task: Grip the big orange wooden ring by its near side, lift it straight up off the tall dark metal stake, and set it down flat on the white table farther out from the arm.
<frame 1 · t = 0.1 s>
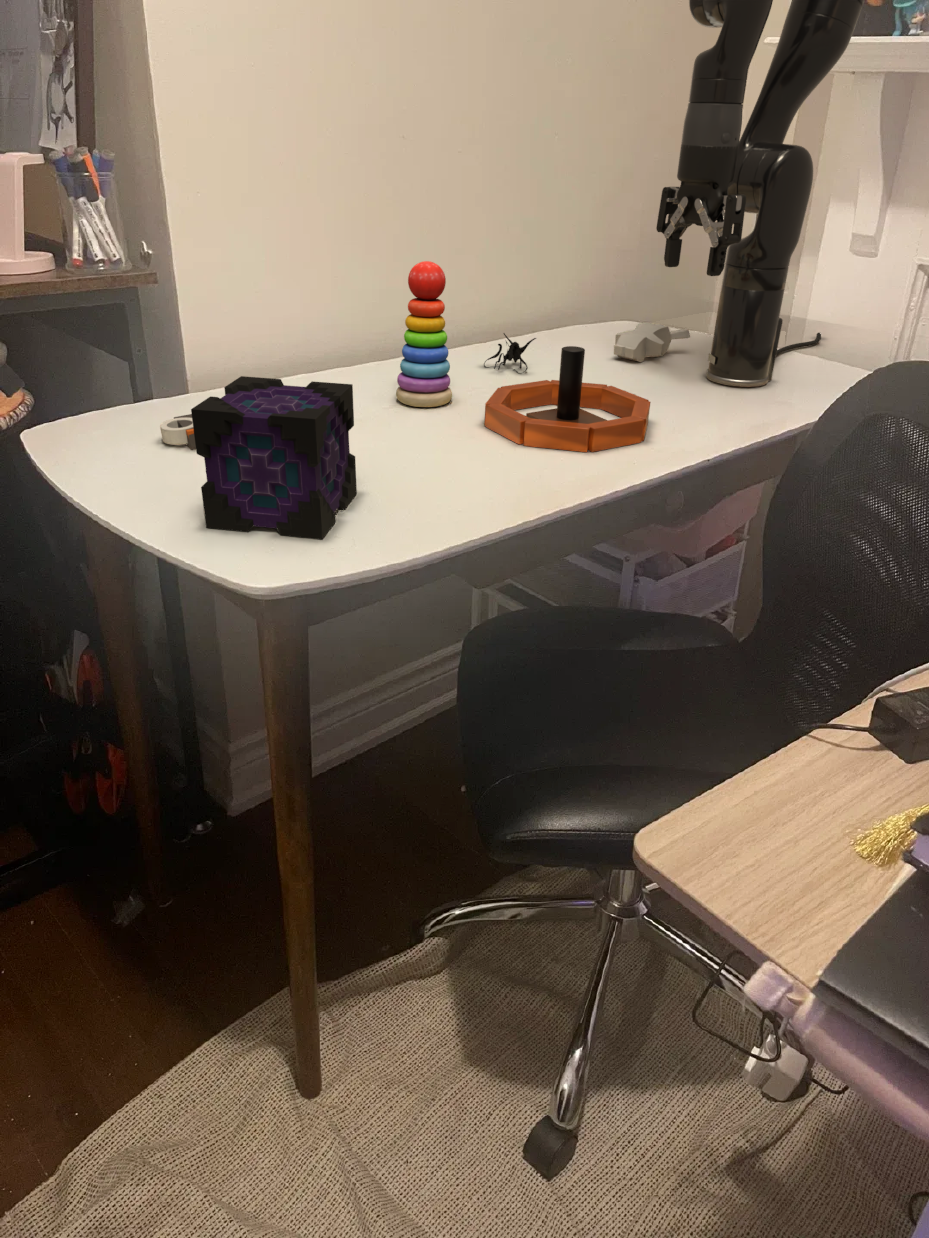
hand: (691, 271, 128), 17 cm above the table, tool pointing down, fingers open, 8 cm apart
energy cube: (285, 512, 94), on the table
stake: (567, 424, 121), on the table
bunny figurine: (647, 356, 156), on the table
stacking toy: (424, 402, 129), on the table
tape dispenser: (223, 437, 114), on the table
ring: (567, 424, 121), on the table
creature: (507, 369, 146), on the table
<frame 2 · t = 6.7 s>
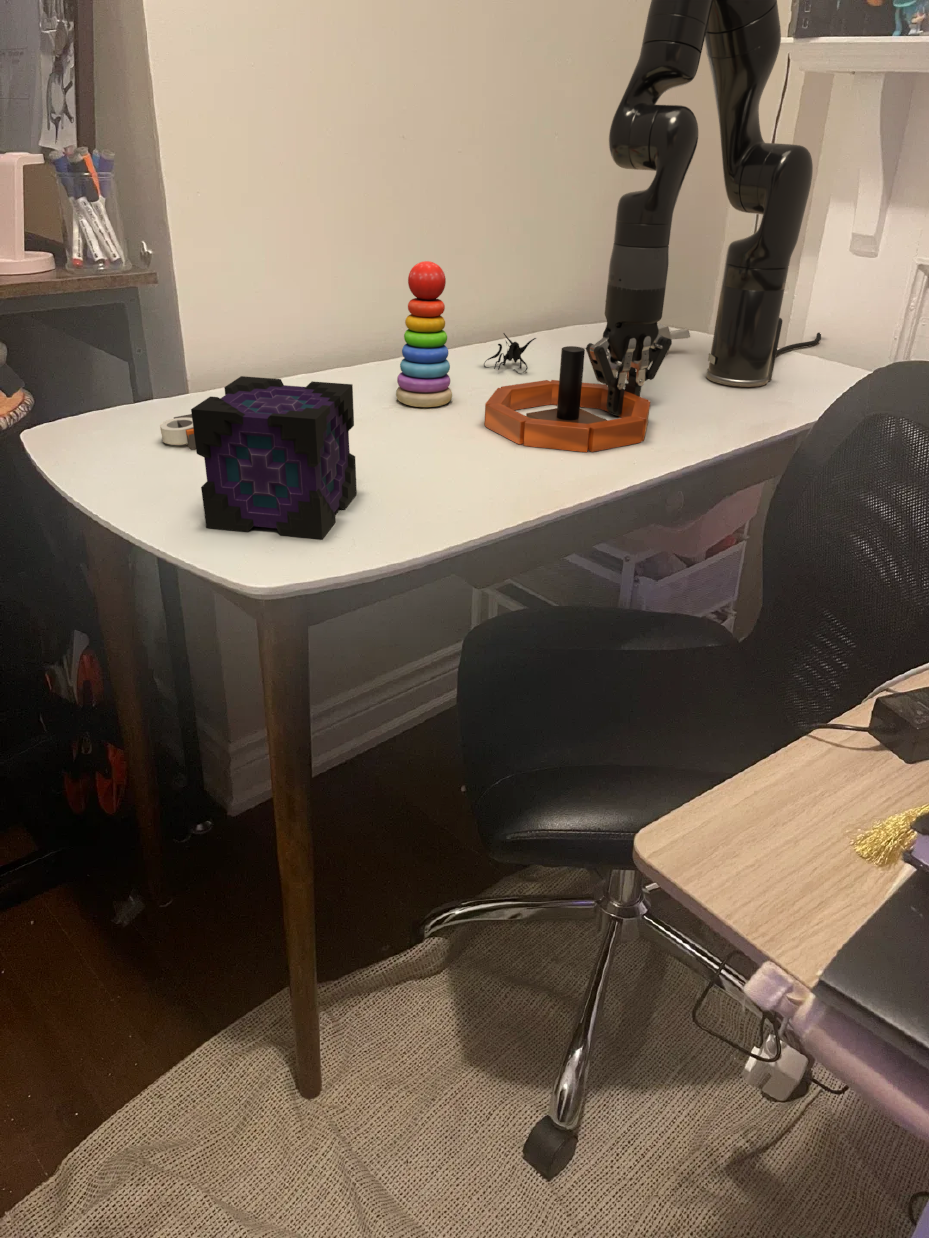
hand: (622, 412, 125), 0 cm above the table, tool pointing down, fingers closed on ring, 2 cm apart
ring: (567, 424, 121), on the table, touching gripper
everything else where it was.
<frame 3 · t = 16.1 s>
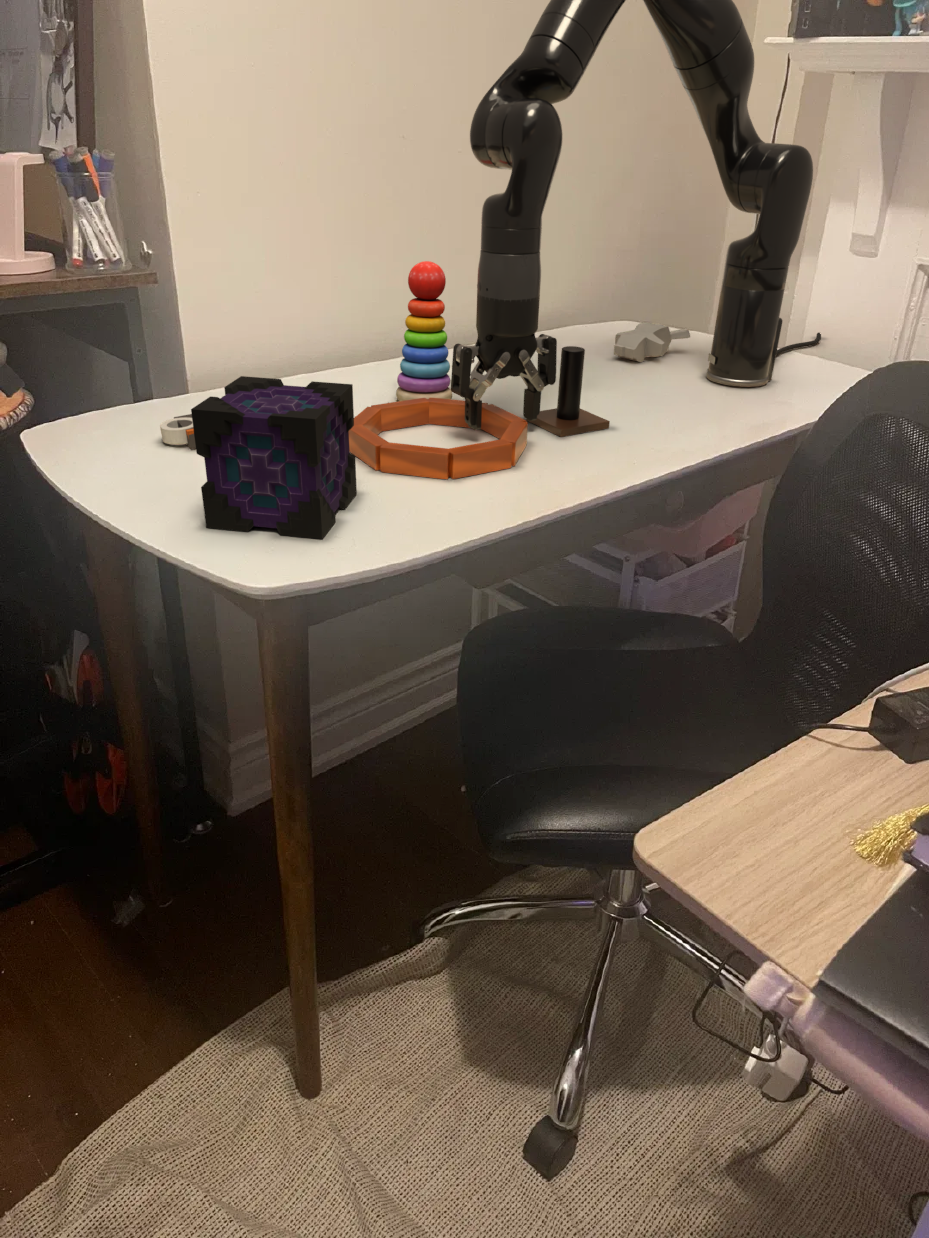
hand: (502, 423, 116), 2 cm above the table, tool pointing down, fingers open, 8 cm apart
ring: (437, 446, 112), on the table
everything else where it was.
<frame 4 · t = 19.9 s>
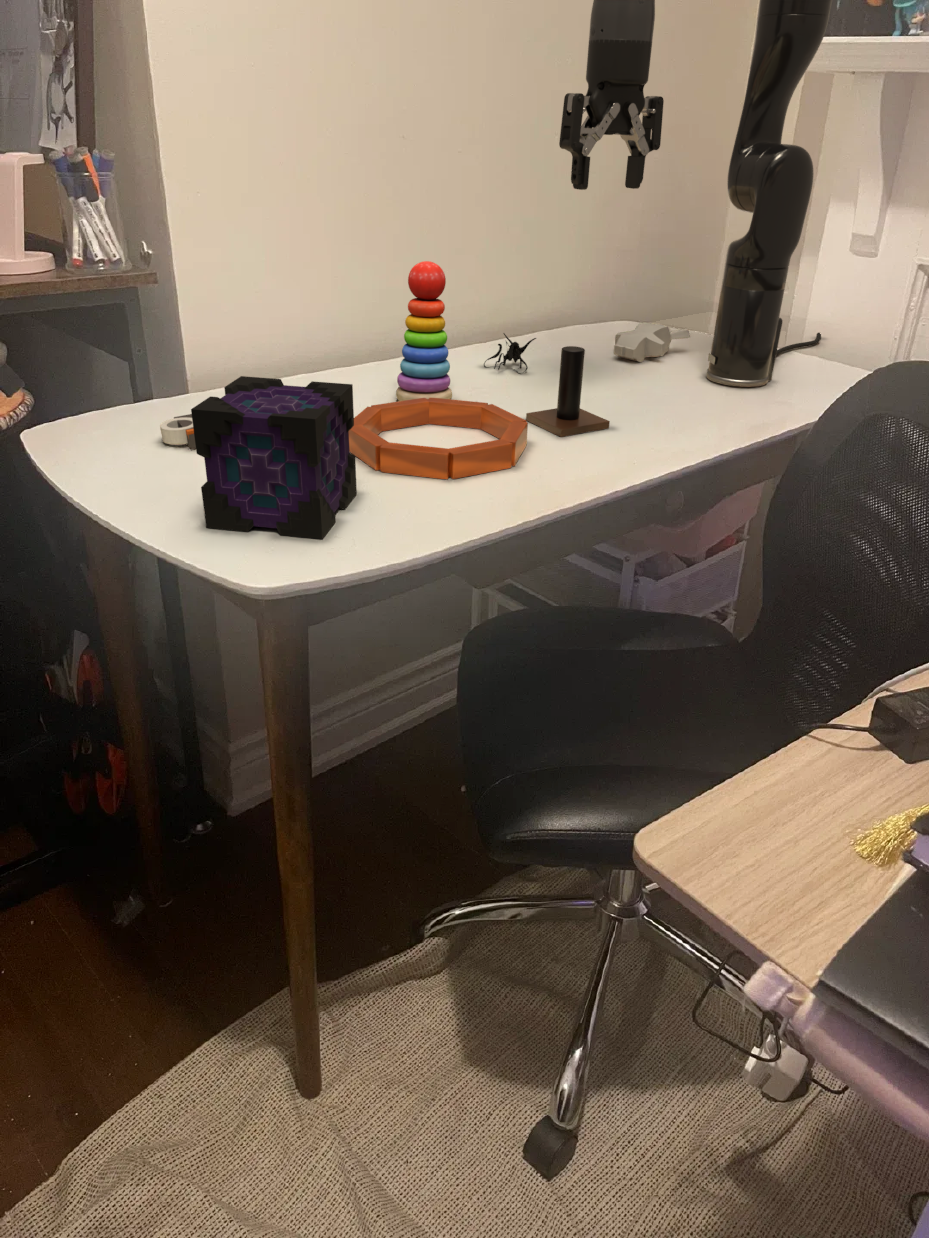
hand: (606, 188, 115), 28 cm above the table, tool pointing down, fingers open, 8 cm apart
nothing on the table moved.
at the end: ring inside the target area (0.0 cm from its centre), on the table; ring touching table; ring tilted 0° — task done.
